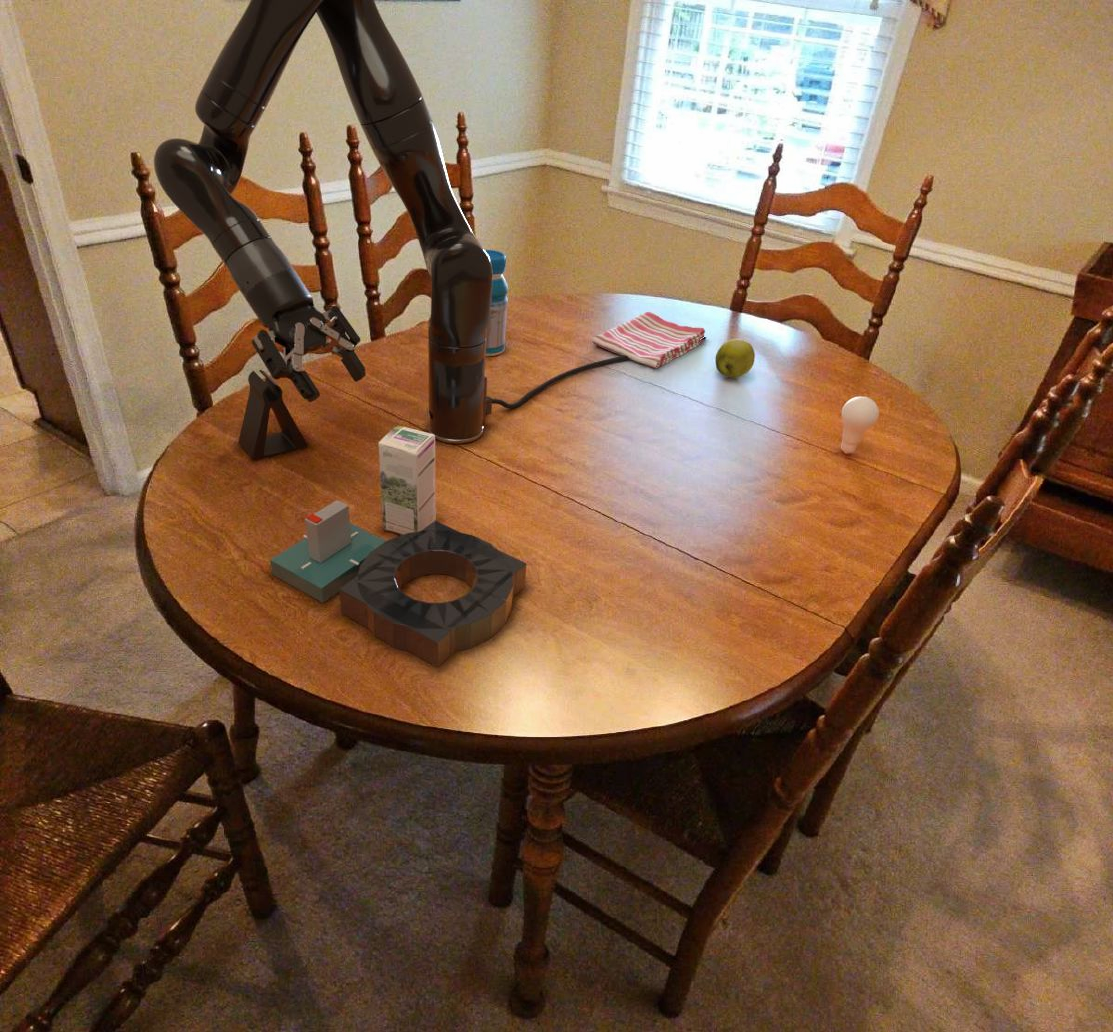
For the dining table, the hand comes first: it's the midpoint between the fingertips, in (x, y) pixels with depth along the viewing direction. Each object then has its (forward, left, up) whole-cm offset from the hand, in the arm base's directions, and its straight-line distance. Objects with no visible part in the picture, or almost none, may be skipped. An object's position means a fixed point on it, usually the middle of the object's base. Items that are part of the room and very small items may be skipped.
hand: (339, 388), depth 104 cm
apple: (-83, +29, -18) cm, 90 cm away
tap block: (+13, +10, -18) cm, 24 cm away
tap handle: (+13, +10, -15) cm, 22 cm away
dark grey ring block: (+10, +25, -18) cm, 32 cm away
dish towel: (-86, +8, -18) cm, 88 cm away
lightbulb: (-66, +58, -18) cm, 90 cm away
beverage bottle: (-58, -17, -18) cm, 63 cm away
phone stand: (-3, -19, -18) cm, 26 cm away
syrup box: (0, +12, -18) cm, 21 cm away
